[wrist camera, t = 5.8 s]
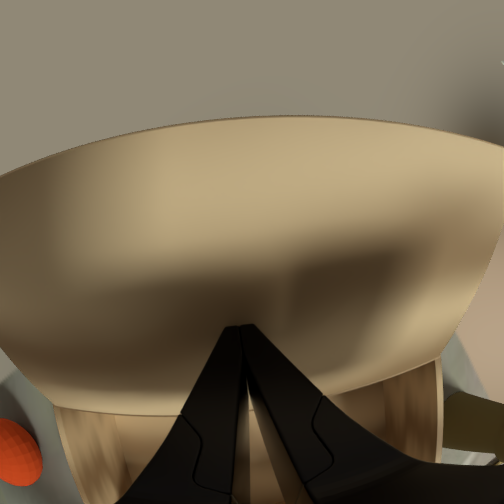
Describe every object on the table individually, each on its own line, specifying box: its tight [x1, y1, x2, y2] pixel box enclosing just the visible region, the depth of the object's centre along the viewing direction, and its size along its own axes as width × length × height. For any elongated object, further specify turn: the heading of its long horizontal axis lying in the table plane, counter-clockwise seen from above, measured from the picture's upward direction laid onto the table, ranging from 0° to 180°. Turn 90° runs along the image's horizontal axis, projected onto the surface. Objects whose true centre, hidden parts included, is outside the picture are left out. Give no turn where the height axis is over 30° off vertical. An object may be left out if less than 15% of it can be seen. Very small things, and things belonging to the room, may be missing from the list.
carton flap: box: [0, 115, 504, 415], centre depth 8 cm, size 11×21×1 cm
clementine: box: [0, 418, 43, 486], centre depth 11 cm, size 8×7×7 cm
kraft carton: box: [53, 354, 443, 504], centre depth 13 cm, size 12×22×8 cm, turn 98°
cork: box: [442, 392, 504, 463], centre depth 12 cm, size 6×6×11 cm
